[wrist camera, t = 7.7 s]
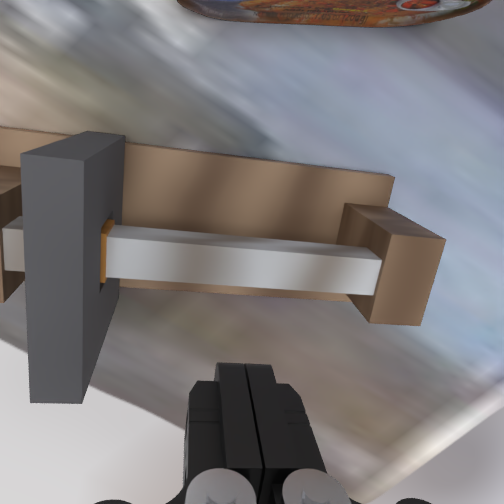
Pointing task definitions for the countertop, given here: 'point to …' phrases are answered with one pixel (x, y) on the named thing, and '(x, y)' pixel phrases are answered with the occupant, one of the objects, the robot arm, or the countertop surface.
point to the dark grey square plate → (68, 259)
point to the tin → (335, 11)
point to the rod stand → (244, 230)
